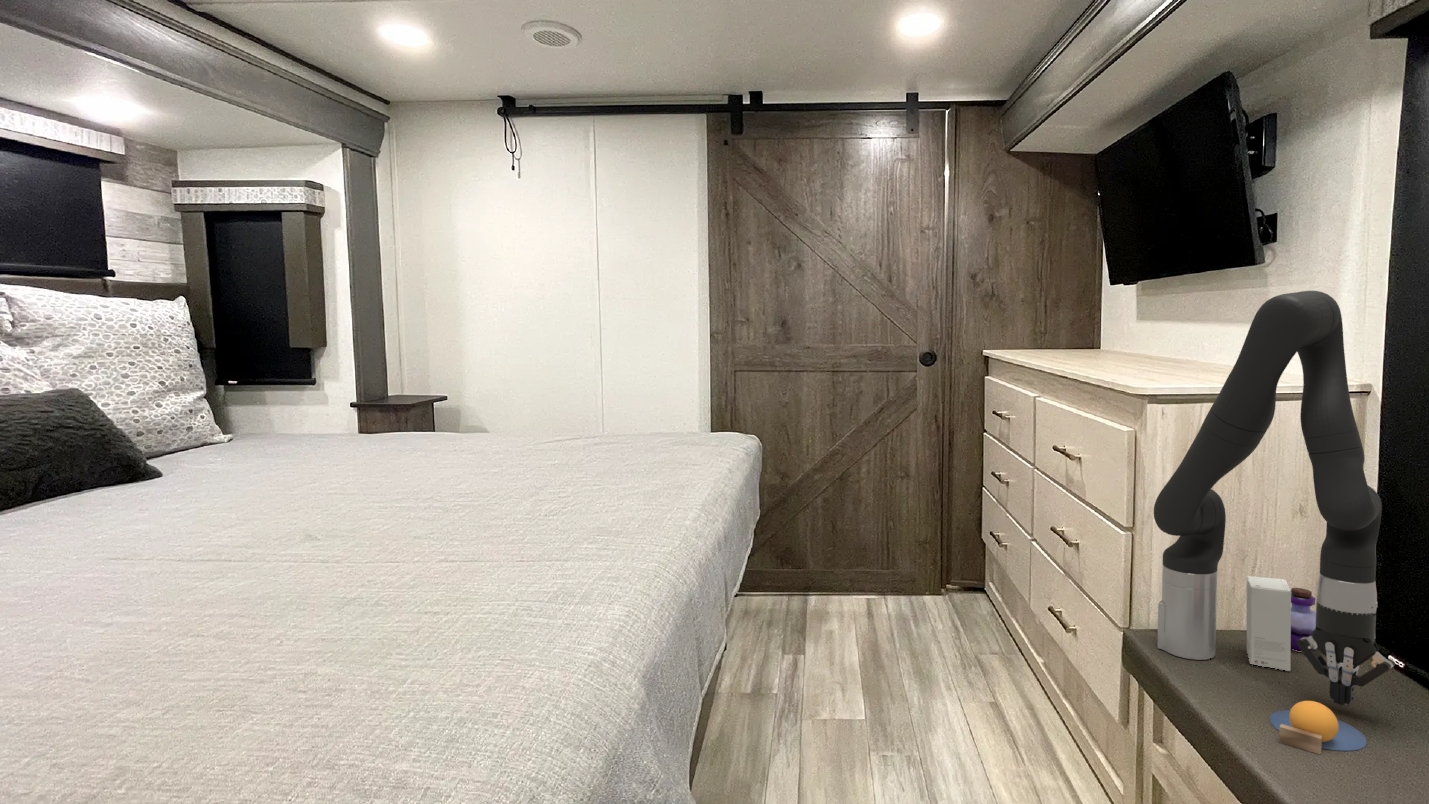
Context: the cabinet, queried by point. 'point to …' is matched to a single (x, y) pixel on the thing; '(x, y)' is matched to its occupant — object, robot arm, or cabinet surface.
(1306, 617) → the potion bottle
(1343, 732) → the disc
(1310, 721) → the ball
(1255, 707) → the cabinet surface
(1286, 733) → the wall
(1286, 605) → the skincare box
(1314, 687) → the cabinet surface
